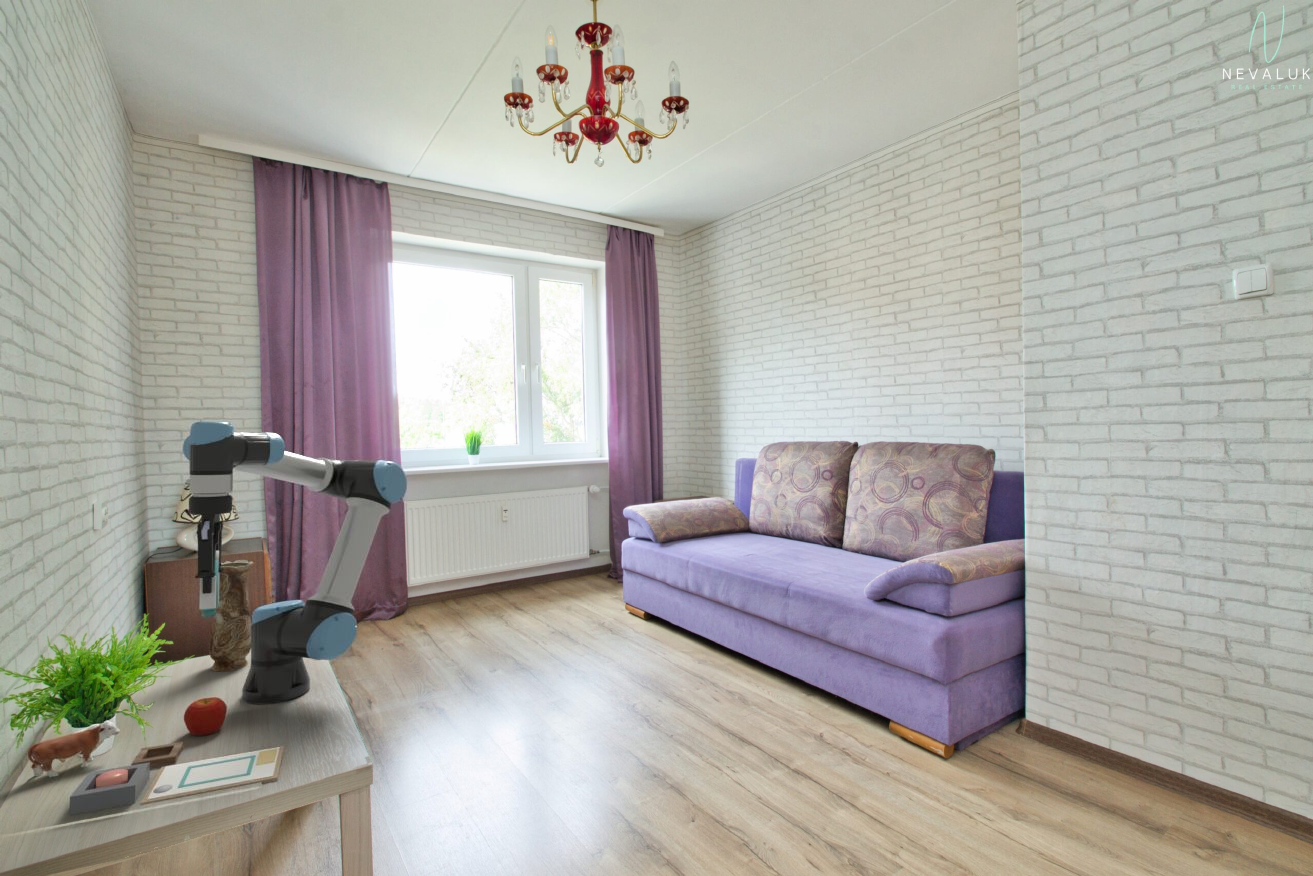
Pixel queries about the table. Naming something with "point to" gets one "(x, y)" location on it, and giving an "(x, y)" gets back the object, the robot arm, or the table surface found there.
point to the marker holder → (159, 755)
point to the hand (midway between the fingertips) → (209, 606)
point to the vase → (231, 619)
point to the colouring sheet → (215, 774)
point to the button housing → (109, 790)
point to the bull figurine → (69, 747)
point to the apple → (205, 716)
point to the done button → (112, 778)
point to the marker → (212, 611)
